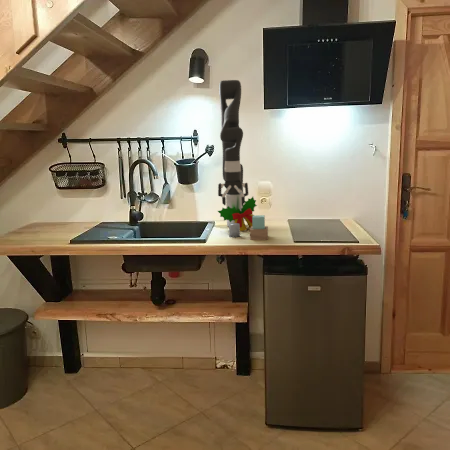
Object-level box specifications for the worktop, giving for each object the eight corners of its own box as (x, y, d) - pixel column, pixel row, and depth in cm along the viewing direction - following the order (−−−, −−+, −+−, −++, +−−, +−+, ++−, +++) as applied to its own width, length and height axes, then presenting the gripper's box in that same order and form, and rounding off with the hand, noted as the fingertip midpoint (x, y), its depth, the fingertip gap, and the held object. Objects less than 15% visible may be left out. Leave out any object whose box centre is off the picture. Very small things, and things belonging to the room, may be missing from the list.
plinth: (251, 236, 214) (250, 226, 213) (267, 236, 213) (267, 226, 212) (250, 240, 206) (250, 229, 205) (267, 240, 205) (267, 229, 204)
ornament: (228, 240, 228) (219, 216, 221) (225, 232, 235) (216, 209, 228) (266, 226, 229) (258, 201, 221) (261, 219, 236) (254, 194, 229)
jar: (229, 235, 218) (229, 223, 217) (240, 235, 217) (240, 223, 216) (228, 237, 213) (228, 225, 212) (239, 237, 212) (239, 225, 211)
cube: (253, 226, 212) (252, 215, 211) (264, 226, 211) (264, 215, 210) (252, 229, 206) (252, 217, 205) (264, 228, 206) (264, 217, 205)
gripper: (248, 169, 212) (249, 203, 215) (218, 170, 214) (219, 204, 217) (247, 170, 205) (248, 205, 208) (216, 171, 206) (217, 206, 209)
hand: (233, 204), depth 212 cm, fingers open, 8 cm apart
